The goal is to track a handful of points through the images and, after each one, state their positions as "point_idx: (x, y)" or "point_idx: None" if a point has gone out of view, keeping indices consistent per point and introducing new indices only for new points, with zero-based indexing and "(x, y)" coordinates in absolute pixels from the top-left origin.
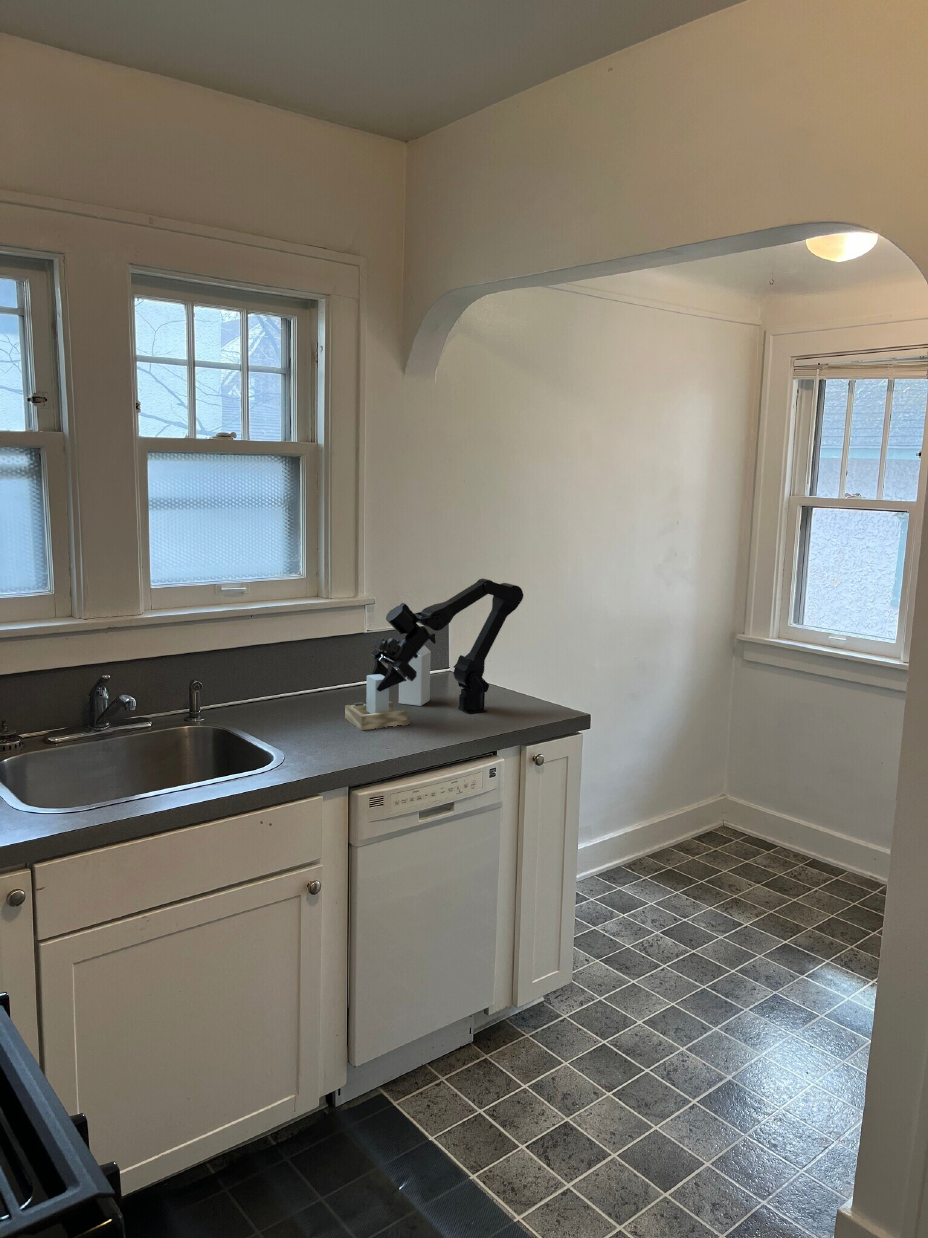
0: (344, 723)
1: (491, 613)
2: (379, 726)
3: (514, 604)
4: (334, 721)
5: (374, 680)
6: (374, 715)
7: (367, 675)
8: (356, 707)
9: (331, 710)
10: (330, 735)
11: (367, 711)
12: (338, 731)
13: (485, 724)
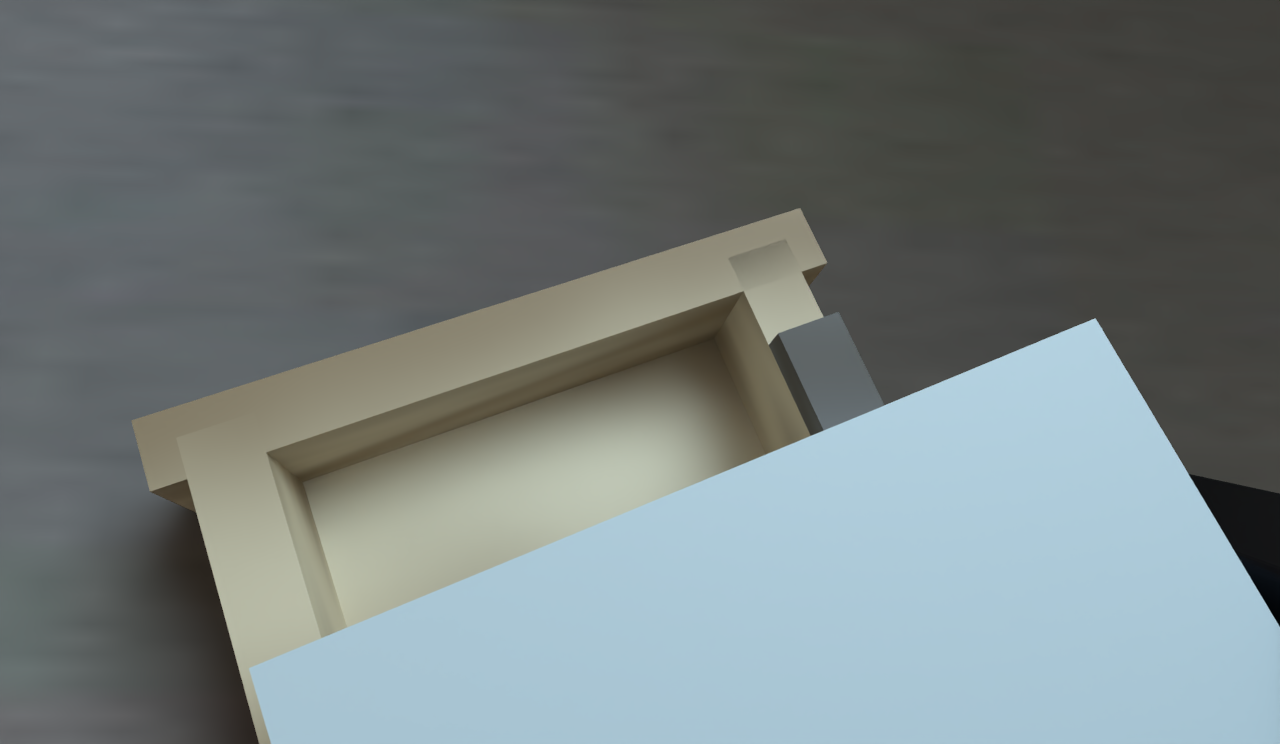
0: (546, 274)
1: None
2: None
3: None
4: (630, 171)
5: (372, 618)
6: (235, 649)
7: (1079, 346)
8: (772, 368)
9: (1056, 160)
10: (51, 107)
11: None
12: (207, 196)
13: None
